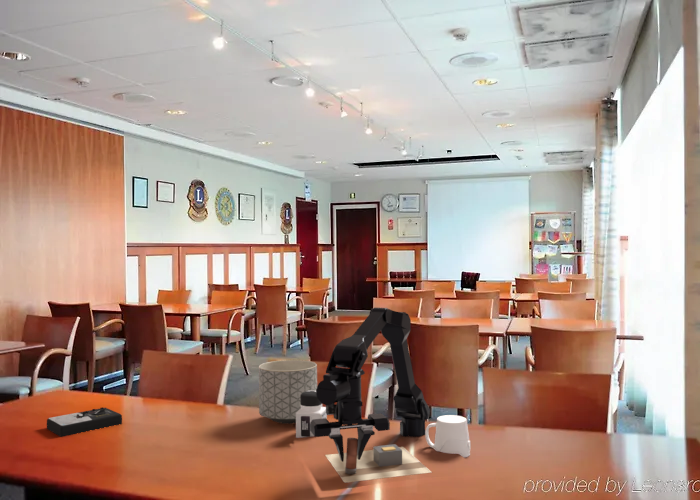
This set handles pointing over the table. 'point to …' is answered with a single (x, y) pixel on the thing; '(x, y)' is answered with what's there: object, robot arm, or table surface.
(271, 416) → the planter
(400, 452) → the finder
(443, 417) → the mug
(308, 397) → the container
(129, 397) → the table surface
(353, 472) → the brown cylinder
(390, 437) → the table surface
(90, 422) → the multimeter
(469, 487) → the table surface
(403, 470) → the board
